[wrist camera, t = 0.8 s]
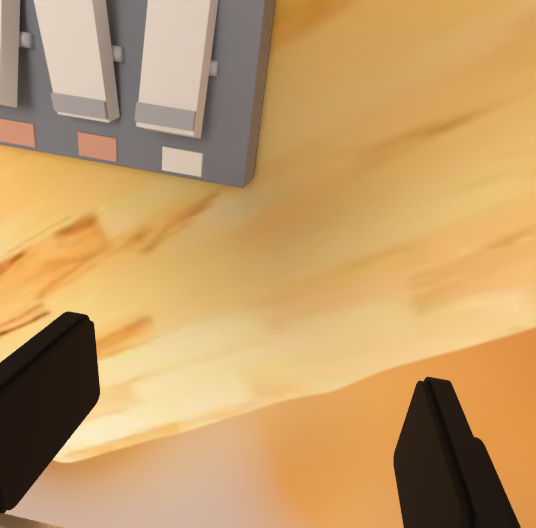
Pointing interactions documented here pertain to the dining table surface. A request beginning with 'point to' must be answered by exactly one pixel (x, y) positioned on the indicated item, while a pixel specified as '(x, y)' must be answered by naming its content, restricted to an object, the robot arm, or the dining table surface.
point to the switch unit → (128, 85)
